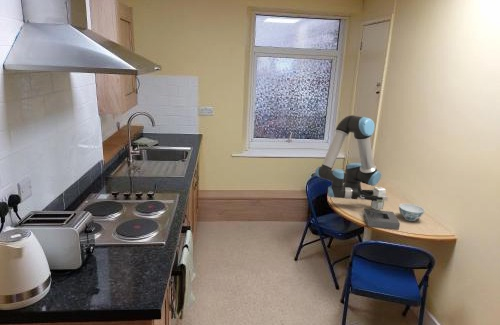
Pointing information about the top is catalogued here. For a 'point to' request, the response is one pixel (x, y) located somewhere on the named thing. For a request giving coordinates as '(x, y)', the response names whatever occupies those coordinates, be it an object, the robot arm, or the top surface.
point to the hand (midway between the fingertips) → (386, 196)
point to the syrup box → (379, 203)
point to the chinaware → (411, 211)
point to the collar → (381, 219)
